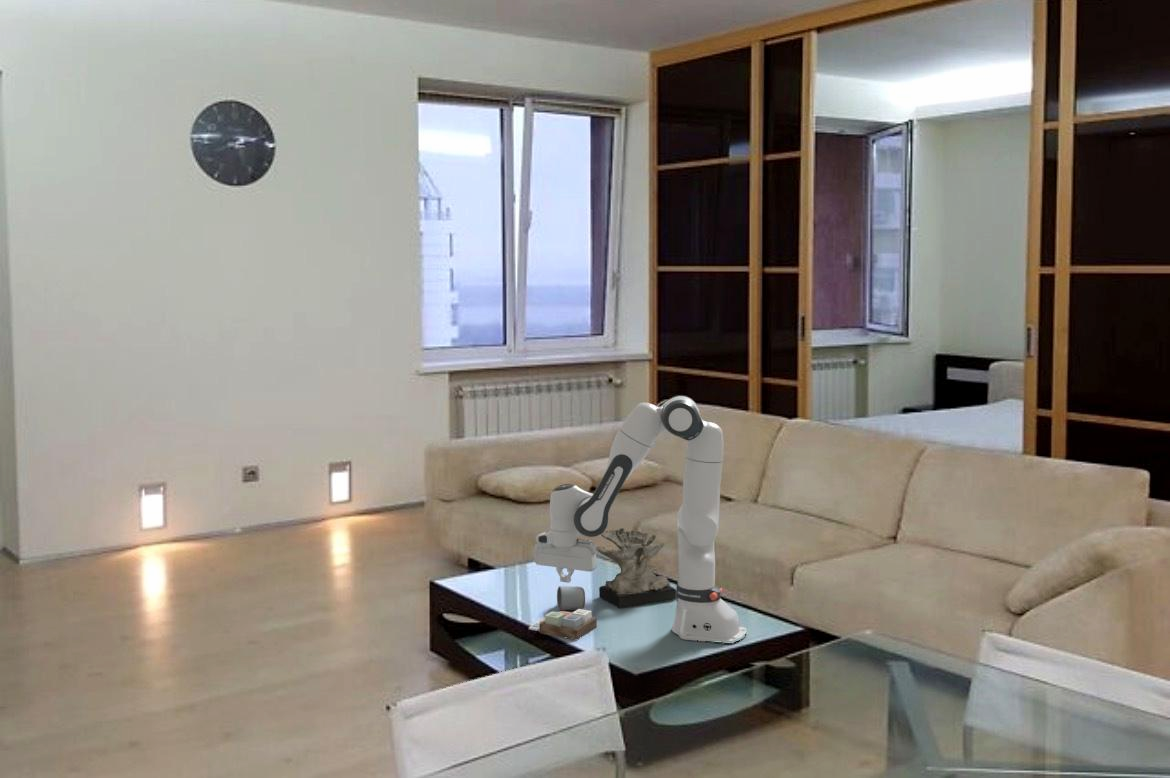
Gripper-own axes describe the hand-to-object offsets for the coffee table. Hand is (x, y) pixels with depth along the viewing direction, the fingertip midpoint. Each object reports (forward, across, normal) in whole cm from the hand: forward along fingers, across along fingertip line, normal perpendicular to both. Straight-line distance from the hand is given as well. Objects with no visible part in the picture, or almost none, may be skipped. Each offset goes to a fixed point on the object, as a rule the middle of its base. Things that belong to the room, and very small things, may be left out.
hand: (565, 581), depth 352 cm
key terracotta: (+14, +1, 0) cm, 14 cm away
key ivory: (+12, -5, 0) cm, 13 cm away
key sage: (+12, +1, +6) cm, 14 cm away
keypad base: (+14, -2, +3) cm, 14 cm away
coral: (+14, -4, -36) cm, 39 cm away
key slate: (+12, -5, +6) cm, 15 cm away
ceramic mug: (+14, +7, -16) cm, 22 cm away
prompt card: (+14, +7, +3) cm, 16 cm away
